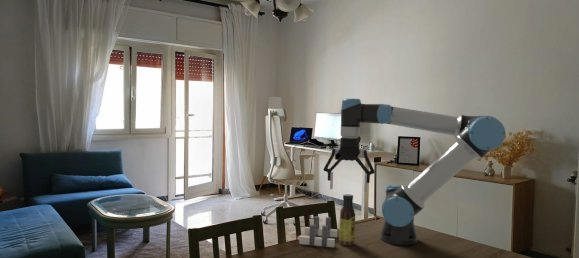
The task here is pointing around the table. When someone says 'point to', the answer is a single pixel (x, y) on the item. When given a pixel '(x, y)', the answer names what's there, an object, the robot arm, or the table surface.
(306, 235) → the pad
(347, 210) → the sauce bottle
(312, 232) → the grey block structure
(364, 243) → the table surface
